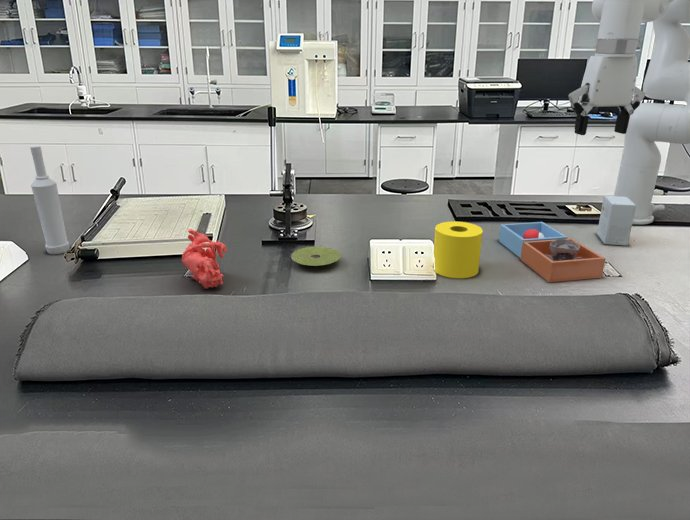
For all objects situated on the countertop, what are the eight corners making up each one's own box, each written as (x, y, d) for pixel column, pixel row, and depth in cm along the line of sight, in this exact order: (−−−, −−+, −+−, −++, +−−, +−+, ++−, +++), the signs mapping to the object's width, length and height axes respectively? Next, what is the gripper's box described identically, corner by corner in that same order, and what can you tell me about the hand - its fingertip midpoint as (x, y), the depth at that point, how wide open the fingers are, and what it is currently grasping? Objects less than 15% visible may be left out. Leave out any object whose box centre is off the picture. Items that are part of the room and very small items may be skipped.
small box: (628, 246, 131) (637, 205, 127) (603, 244, 132) (612, 204, 128) (619, 235, 138) (627, 196, 134) (596, 234, 139) (603, 195, 135)
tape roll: (451, 281, 112) (454, 240, 108) (423, 265, 120) (426, 225, 116) (487, 272, 116) (492, 232, 112) (458, 257, 124) (462, 219, 121)
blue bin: (540, 238, 136) (542, 221, 134) (564, 254, 126) (568, 237, 124) (498, 241, 134) (500, 224, 132) (520, 258, 124) (522, 240, 122)
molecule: (520, 247, 129) (523, 231, 127) (522, 241, 133) (525, 225, 131) (542, 250, 127) (545, 233, 125) (543, 243, 131) (546, 227, 129)
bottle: (75, 248, 129) (53, 145, 119) (56, 256, 125) (32, 149, 115) (60, 245, 131) (37, 143, 121) (41, 252, 127) (16, 147, 117)
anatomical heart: (212, 302, 106) (191, 254, 100) (182, 284, 114) (162, 238, 108) (246, 279, 111) (229, 231, 105) (216, 263, 119) (198, 218, 113)
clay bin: (569, 256, 125) (572, 238, 123) (601, 277, 114) (605, 258, 112) (520, 259, 123) (522, 241, 121) (548, 282, 112) (552, 262, 110)
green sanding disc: (318, 250, 128) (317, 242, 128) (350, 263, 121) (350, 255, 120) (281, 262, 121) (280, 255, 120) (313, 277, 114) (313, 269, 113)
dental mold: (584, 264, 119) (588, 243, 117) (578, 274, 114) (582, 253, 112) (547, 256, 123) (550, 236, 121) (540, 266, 118) (543, 246, 116)
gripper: (640, 48, 114) (624, 129, 120) (566, 48, 111) (554, 132, 117) (666, 49, 107) (647, 135, 113) (588, 49, 104) (573, 137, 110)
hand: (600, 133), depth 115 cm, fingers open, 9 cm apart
